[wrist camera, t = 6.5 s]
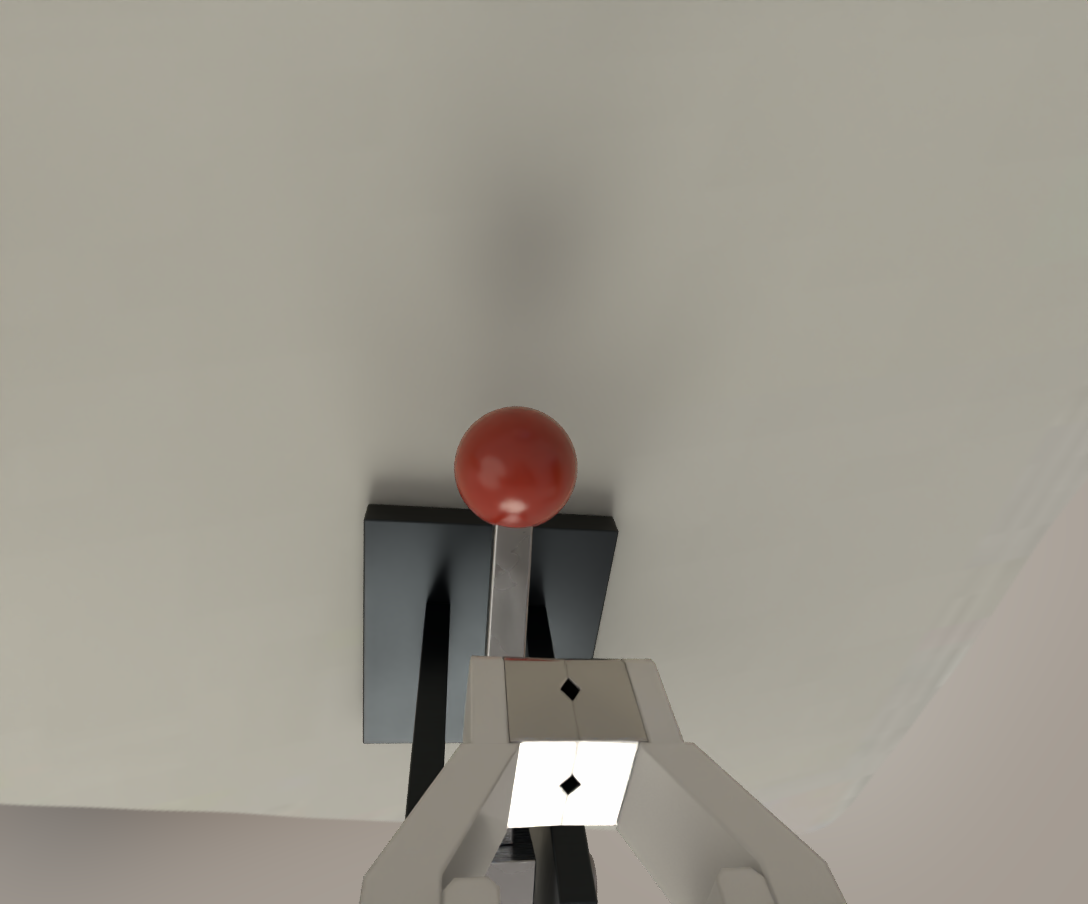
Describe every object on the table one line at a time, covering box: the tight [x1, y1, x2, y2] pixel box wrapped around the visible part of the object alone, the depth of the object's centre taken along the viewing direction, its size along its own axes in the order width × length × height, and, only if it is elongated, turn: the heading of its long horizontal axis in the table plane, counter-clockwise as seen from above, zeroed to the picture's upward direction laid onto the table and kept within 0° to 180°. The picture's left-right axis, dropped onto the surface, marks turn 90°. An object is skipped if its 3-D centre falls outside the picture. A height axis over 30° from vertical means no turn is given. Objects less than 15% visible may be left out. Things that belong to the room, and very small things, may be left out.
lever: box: [454, 406, 577, 904], centre depth 18 cm, size 15×4×4 cm, turn 172°
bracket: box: [363, 504, 618, 904], centre depth 22 cm, size 12×10×13 cm
